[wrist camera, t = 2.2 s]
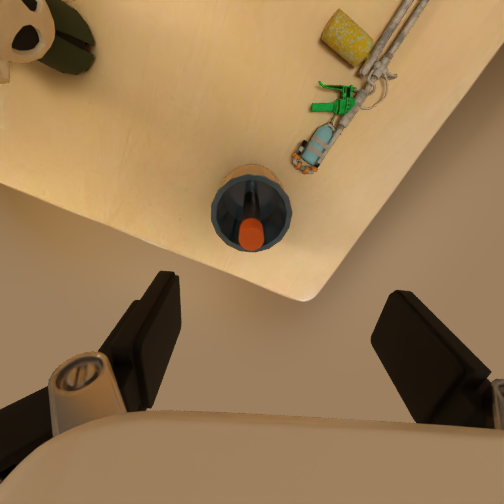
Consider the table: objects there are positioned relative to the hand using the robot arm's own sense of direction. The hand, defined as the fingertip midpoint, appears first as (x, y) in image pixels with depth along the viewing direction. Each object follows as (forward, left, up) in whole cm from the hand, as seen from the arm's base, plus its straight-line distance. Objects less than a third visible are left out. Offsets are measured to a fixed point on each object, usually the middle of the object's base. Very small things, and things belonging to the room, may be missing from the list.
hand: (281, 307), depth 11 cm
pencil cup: (-1, -1, -26) cm, 26 cm away
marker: (-1, -1, -25) cm, 25 cm away
